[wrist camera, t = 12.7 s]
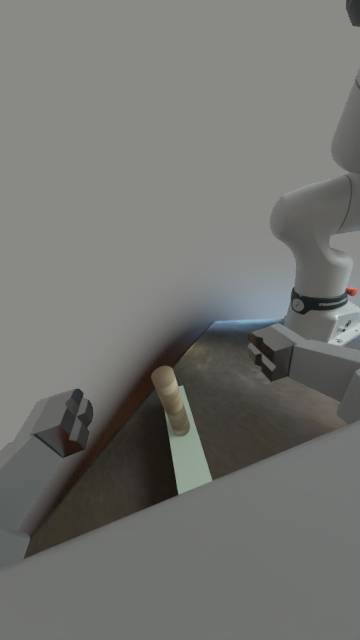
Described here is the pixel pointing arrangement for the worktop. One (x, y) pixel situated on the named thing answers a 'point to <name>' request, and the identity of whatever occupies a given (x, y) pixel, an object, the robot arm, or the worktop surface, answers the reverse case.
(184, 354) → the worktop surface
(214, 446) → the worktop surface
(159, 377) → the dowel
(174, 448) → the pale mint rectangular block
